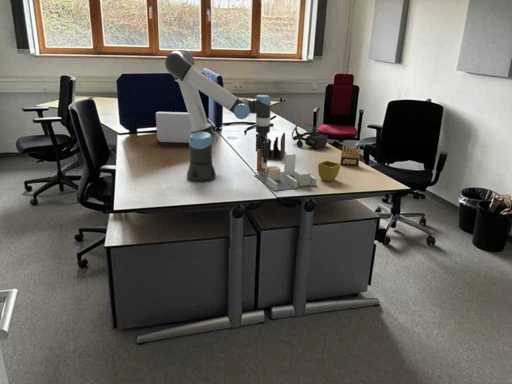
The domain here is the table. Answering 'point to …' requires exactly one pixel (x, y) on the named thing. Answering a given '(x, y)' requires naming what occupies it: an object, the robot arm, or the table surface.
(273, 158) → the letter holder
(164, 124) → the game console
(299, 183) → the sage block
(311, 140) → the virtual reality headset
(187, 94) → the robot arm
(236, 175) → the table surface
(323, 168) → the flower pot
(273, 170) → the birch block
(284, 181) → the lane rack
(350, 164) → the ammunition clip
